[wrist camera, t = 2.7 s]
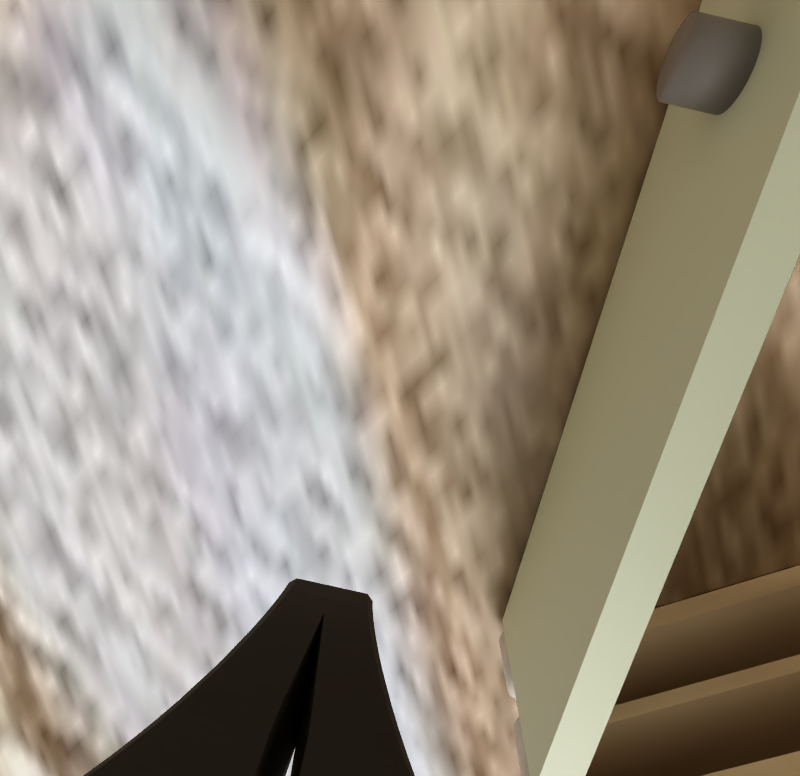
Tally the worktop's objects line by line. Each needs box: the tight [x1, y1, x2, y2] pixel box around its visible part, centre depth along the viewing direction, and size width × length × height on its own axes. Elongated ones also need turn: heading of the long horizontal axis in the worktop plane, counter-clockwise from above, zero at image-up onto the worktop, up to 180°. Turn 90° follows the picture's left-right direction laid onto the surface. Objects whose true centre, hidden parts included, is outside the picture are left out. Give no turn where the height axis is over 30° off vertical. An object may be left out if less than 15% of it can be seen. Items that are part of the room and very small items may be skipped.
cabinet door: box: [499, 0, 800, 776], centre depth 14 cm, size 2×20×6 cm, turn 168°
